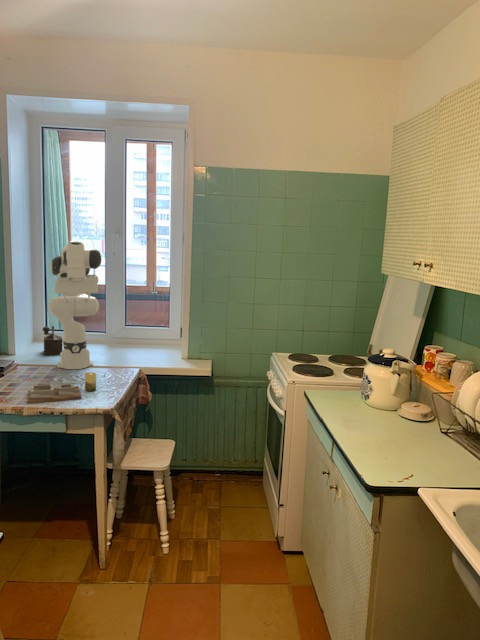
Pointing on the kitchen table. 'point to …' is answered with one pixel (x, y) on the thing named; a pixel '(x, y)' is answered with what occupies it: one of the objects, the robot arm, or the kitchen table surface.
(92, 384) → the gold metal cylinder
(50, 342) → the manual coffee grinder
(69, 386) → the socket board
